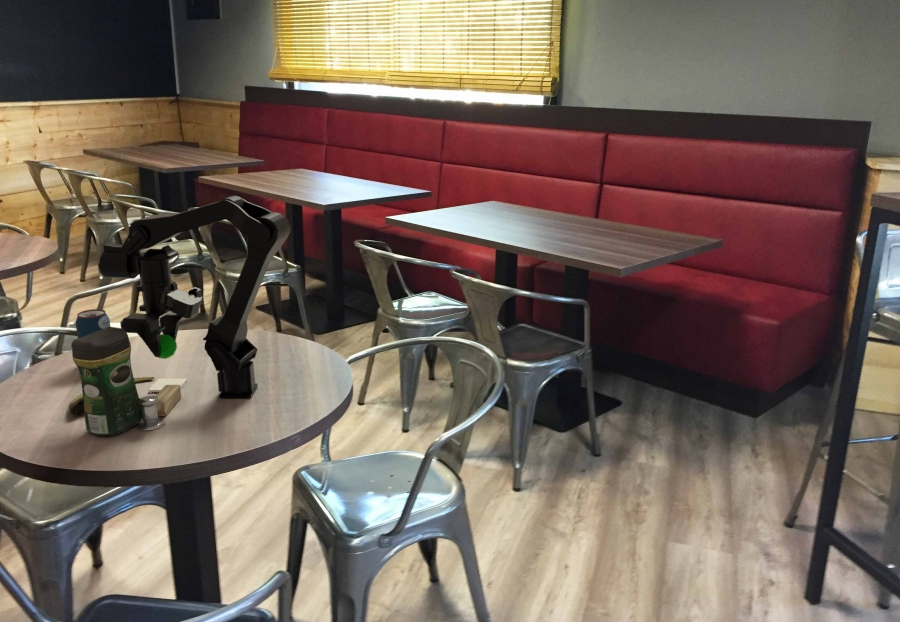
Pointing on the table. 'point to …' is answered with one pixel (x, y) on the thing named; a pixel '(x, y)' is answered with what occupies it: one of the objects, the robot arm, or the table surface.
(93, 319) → the soda can
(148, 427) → the grey spool
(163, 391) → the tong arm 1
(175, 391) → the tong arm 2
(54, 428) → the table surface
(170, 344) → the polyhedron
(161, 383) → the coaster
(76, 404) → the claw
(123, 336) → the coffee jar
